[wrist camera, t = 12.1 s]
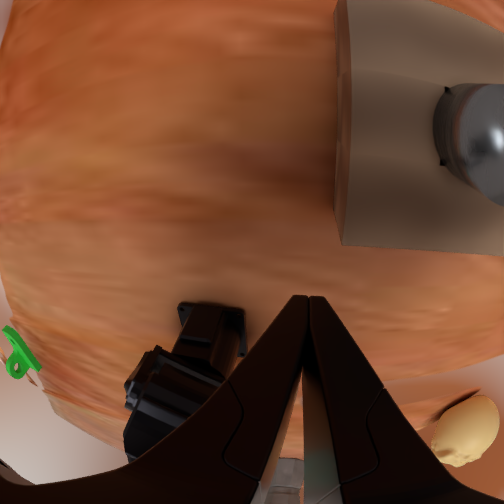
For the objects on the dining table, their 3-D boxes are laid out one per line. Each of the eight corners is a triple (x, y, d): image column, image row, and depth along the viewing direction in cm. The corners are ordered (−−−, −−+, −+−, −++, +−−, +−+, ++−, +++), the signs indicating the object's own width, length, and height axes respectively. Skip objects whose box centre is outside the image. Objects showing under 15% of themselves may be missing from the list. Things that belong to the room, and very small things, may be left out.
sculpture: (416, 421, 33) (423, 478, 24) (473, 381, 27) (490, 443, 17) (450, 426, 34) (457, 473, 25) (499, 391, 27) (514, 441, 18)
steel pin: (461, 167, 15) (534, 213, 8) (398, 155, 16) (459, 198, 9) (467, 95, 12) (548, 106, 5) (401, 77, 13) (469, 67, 6)
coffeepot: (253, 455, 47) (237, 528, 31) (294, 453, 43) (282, 533, 28) (285, 472, 52) (275, 533, 37) (321, 469, 48) (314, 535, 33)
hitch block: (486, 224, 17) (521, 257, 12) (333, 208, 19) (341, 245, 14) (502, 61, 10) (545, 60, 5) (333, 13, 12) (344, -18, 7)
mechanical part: (42, 366, 49) (26, 389, 42) (29, 359, 50) (14, 380, 43) (18, 330, 43) (-2, 354, 36) (6, 324, 44) (-12, 346, 37)
